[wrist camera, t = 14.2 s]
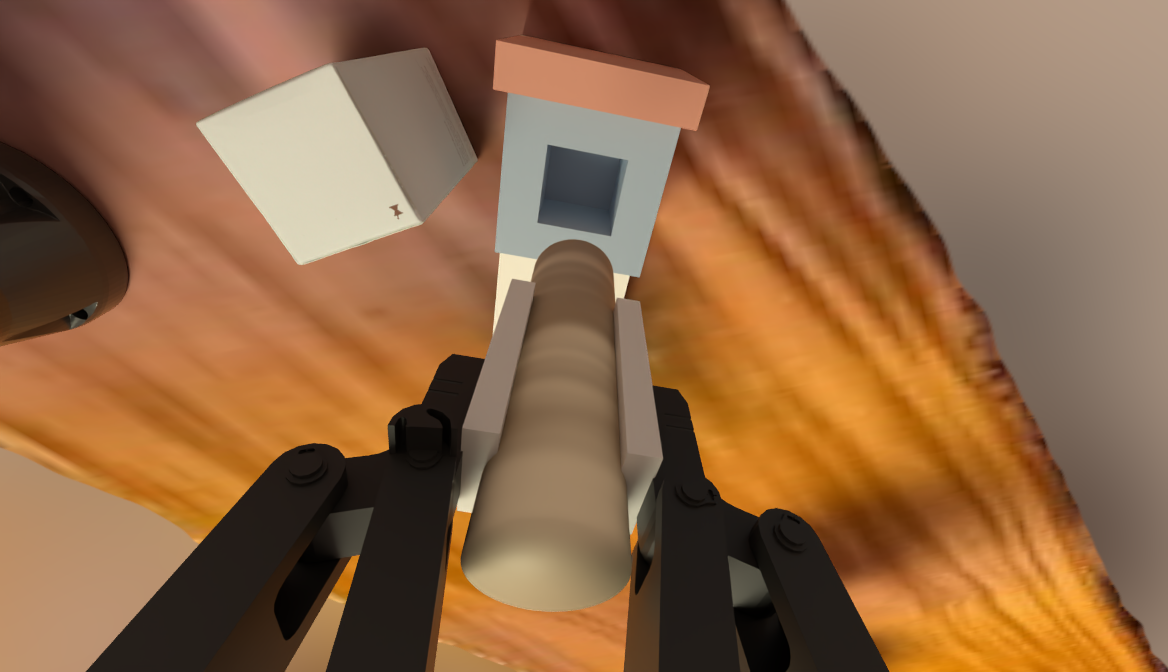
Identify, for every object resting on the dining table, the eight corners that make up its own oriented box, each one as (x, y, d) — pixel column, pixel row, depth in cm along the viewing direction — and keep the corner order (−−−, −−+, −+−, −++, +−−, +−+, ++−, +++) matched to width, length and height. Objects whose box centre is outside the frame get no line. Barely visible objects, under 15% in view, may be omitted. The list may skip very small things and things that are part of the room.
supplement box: (429, 43, 29) (335, 56, 18) (480, 162, 33) (427, 228, 22) (327, 85, 30) (186, 119, 20) (388, 194, 34) (297, 271, 24)
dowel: (539, 232, 18) (464, 504, 8) (621, 247, 18) (652, 531, 8) (528, 303, 19) (457, 601, 10) (604, 317, 20) (610, 619, 10)
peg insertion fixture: (494, 331, 41) (472, 401, 33) (521, 34, 29) (496, 40, 21) (607, 349, 42) (610, 421, 34) (680, 68, 29) (710, 85, 22)
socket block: (509, 217, 33) (494, 252, 28) (523, 75, 28) (508, 87, 23) (632, 239, 34) (639, 277, 29) (667, 105, 29) (682, 123, 24)
